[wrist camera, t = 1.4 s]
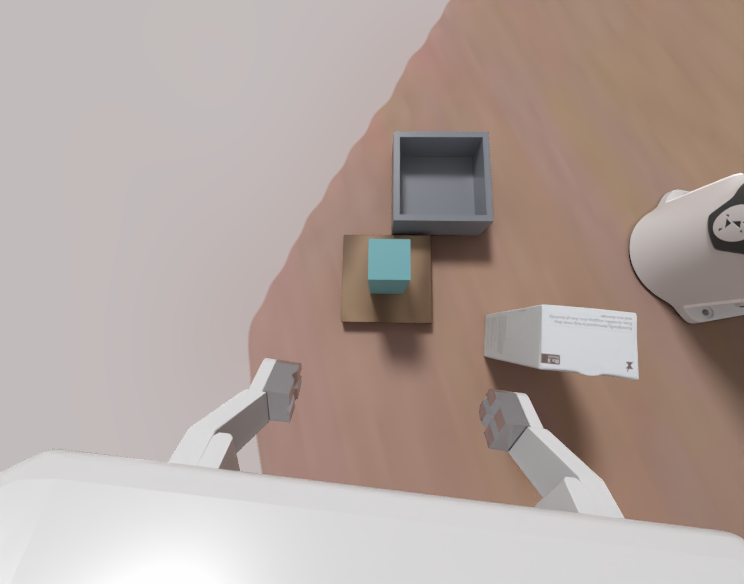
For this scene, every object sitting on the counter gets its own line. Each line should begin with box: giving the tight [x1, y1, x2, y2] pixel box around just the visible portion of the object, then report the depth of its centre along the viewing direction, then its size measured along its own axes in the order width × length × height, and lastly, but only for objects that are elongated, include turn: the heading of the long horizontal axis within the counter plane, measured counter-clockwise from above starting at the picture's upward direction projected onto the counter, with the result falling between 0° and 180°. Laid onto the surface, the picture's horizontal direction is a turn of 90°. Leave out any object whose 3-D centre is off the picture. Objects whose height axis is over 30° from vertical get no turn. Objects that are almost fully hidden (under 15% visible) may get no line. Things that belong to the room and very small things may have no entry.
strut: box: [368, 239, 411, 294], centre depth 34 cm, size 4×4×9 cm
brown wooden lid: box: [341, 235, 432, 324], centre depth 38 cm, size 12×12×5 cm
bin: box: [392, 132, 493, 235], centre depth 40 cm, size 13×13×5 cm
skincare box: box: [484, 305, 639, 380], centre depth 31 cm, size 8×6×15 cm
